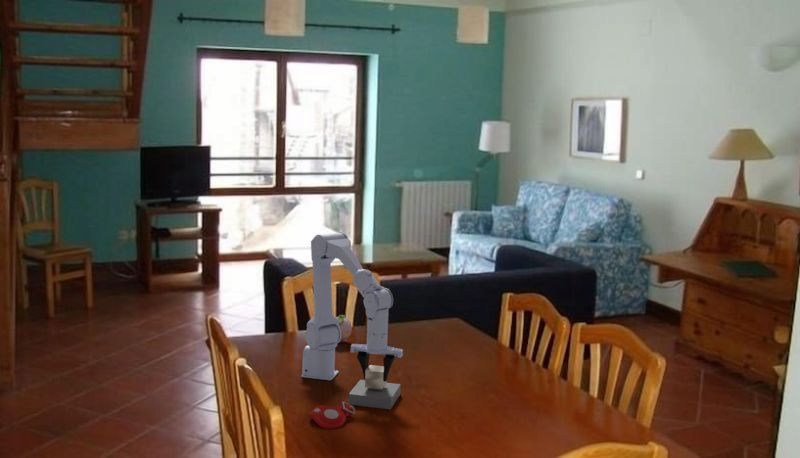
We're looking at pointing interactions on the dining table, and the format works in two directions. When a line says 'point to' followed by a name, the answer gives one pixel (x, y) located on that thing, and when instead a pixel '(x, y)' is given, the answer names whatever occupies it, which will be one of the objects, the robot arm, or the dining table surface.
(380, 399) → the gray base
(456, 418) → the dining table surface
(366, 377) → the cream cube
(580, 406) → the dining table surface
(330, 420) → the tracker holder
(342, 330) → the decorative fruit
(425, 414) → the dining table surface
